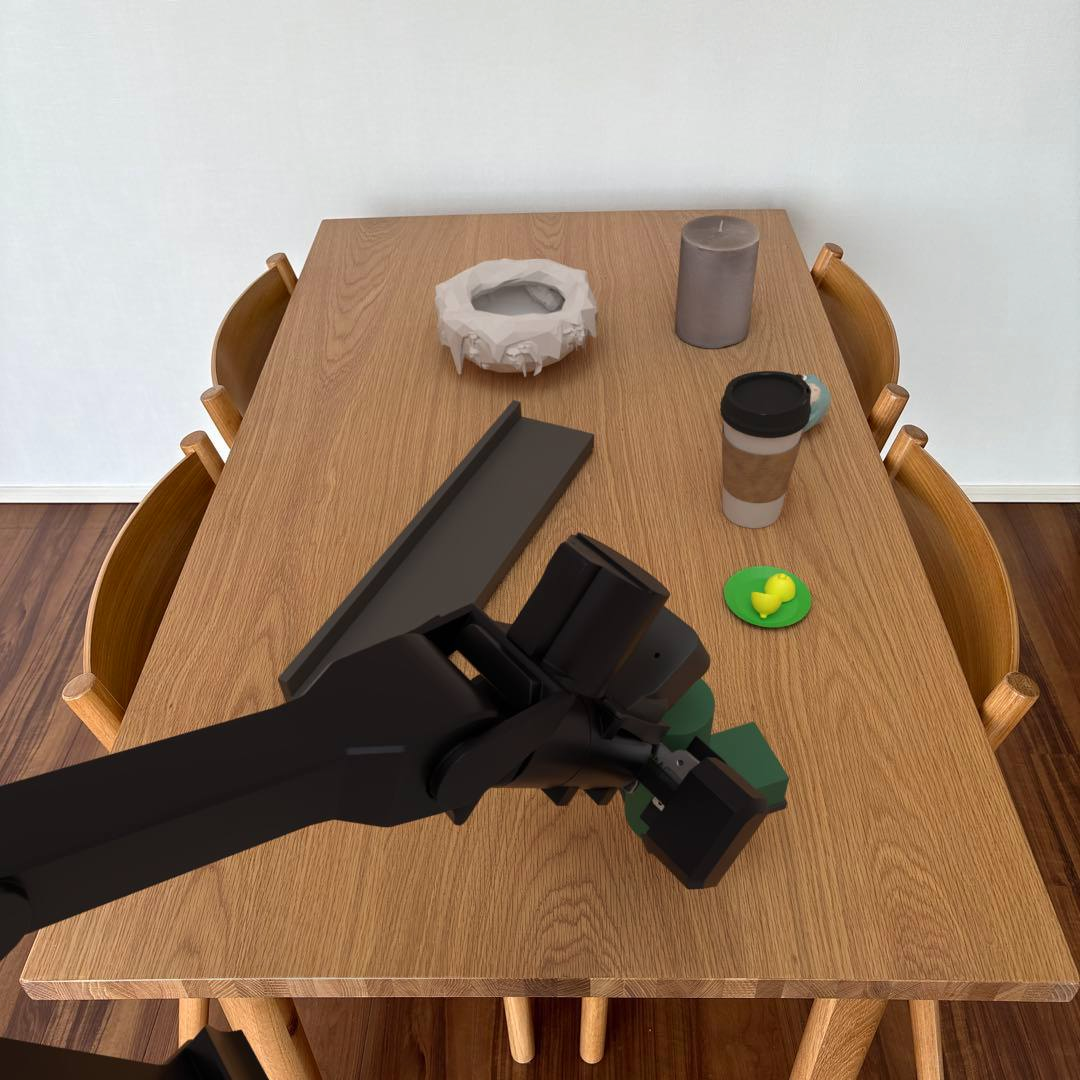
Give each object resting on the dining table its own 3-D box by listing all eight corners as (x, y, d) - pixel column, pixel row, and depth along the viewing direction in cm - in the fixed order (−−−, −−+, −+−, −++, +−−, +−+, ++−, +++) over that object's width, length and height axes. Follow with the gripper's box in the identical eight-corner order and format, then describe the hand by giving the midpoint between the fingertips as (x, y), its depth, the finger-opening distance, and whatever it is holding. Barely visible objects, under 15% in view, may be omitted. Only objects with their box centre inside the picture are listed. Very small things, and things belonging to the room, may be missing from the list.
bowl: (477, 306, 134) (471, 238, 127) (618, 327, 128) (619, 257, 121) (412, 386, 120) (401, 314, 113) (567, 413, 114) (565, 340, 107)
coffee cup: (794, 540, 96) (816, 417, 86) (708, 533, 97) (721, 412, 87) (791, 487, 102) (812, 366, 92) (711, 481, 103) (723, 362, 93)
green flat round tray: (805, 639, 86) (809, 618, 84) (716, 622, 88) (719, 601, 86) (814, 579, 92) (819, 557, 90) (731, 564, 94) (733, 543, 92)
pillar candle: (686, 307, 131) (693, 200, 121) (756, 318, 128) (770, 210, 118) (665, 342, 125) (670, 232, 114) (738, 355, 122) (751, 244, 111)
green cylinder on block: (642, 856, 64) (650, 746, 56) (613, 791, 68) (615, 678, 60) (786, 808, 67) (814, 695, 58) (749, 748, 70) (771, 633, 62)
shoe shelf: (386, 750, 79) (377, 717, 76) (288, 711, 83) (276, 678, 80) (594, 451, 108) (594, 419, 105) (515, 431, 112) (513, 399, 109)
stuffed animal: (717, 355, 112) (823, 340, 109) (723, 406, 116) (826, 392, 114) (720, 408, 104) (835, 393, 101) (727, 460, 108) (837, 447, 106)
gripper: (766, 720, 44) (871, 737, 56) (518, 517, 55) (651, 569, 67) (634, 908, 46) (763, 884, 58) (420, 675, 57) (567, 697, 69)
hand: (682, 745), depth 63 cm, fingers closed on green cylinder on block, 5 cm apart
